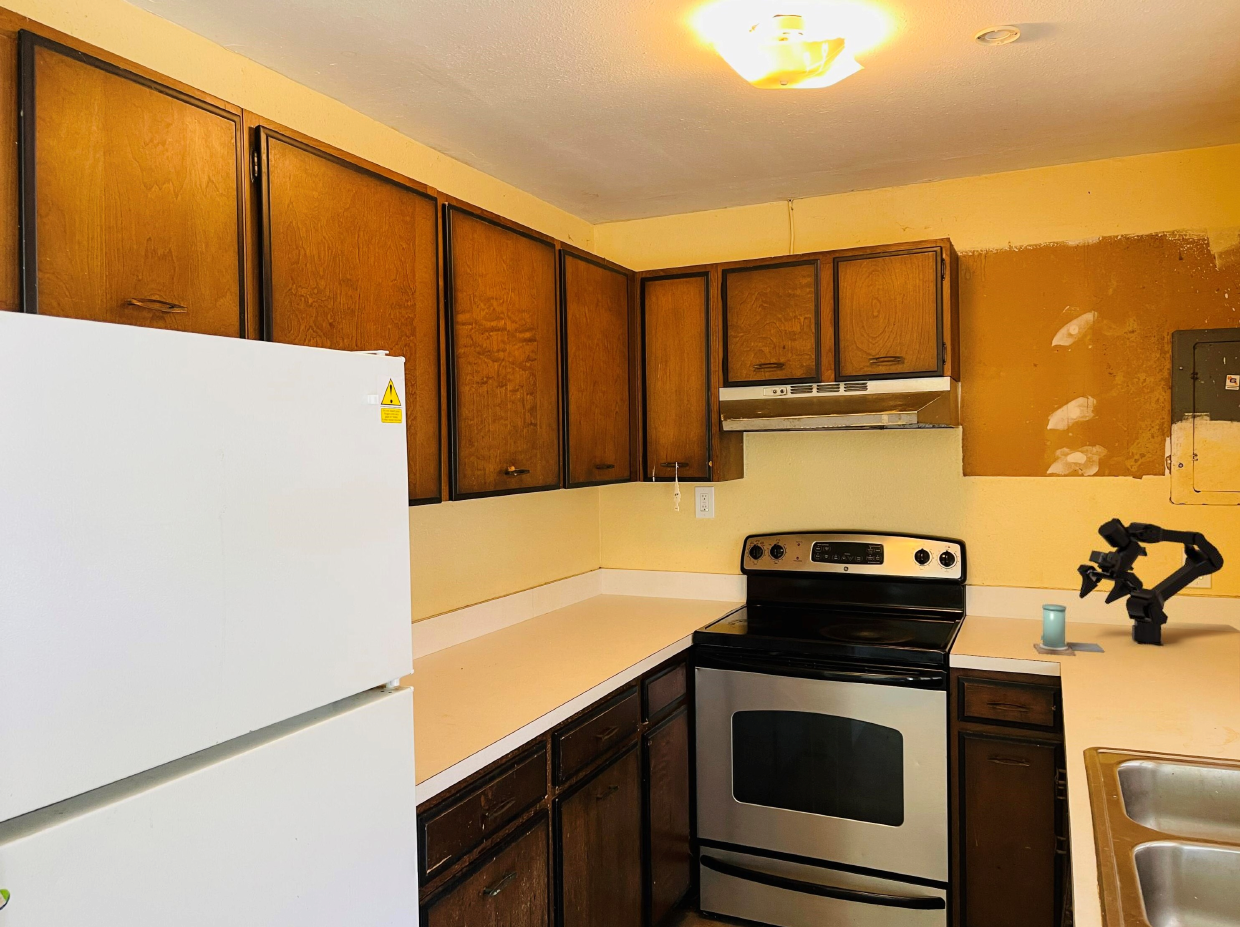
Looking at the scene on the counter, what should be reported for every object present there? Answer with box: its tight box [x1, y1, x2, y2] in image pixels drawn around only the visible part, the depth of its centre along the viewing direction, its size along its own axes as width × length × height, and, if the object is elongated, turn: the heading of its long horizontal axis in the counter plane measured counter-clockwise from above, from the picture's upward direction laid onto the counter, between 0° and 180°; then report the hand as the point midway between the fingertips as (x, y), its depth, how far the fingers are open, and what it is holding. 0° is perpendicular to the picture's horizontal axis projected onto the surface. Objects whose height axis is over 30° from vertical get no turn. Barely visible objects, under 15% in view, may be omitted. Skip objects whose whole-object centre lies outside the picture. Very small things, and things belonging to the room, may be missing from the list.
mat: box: [1065, 641, 1105, 653], centre depth 252 cm, size 8×8×1 cm
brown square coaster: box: [1033, 642, 1076, 657], centre depth 248 cm, size 9×9×2 cm
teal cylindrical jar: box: [1040, 603, 1067, 648], centre depth 248 cm, size 6×6×11 cm
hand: (1093, 600), depth 253 cm, fingers open, 9 cm apart
